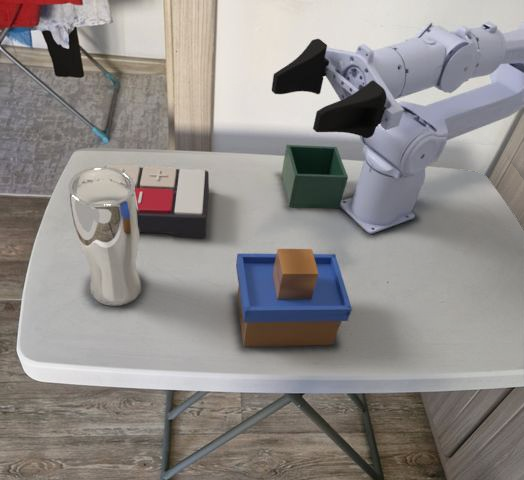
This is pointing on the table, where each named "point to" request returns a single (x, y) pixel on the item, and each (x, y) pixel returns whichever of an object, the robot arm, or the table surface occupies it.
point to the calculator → (170, 199)
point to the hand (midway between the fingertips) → (294, 102)
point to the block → (295, 273)
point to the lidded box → (289, 304)
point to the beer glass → (107, 231)
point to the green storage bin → (313, 176)
